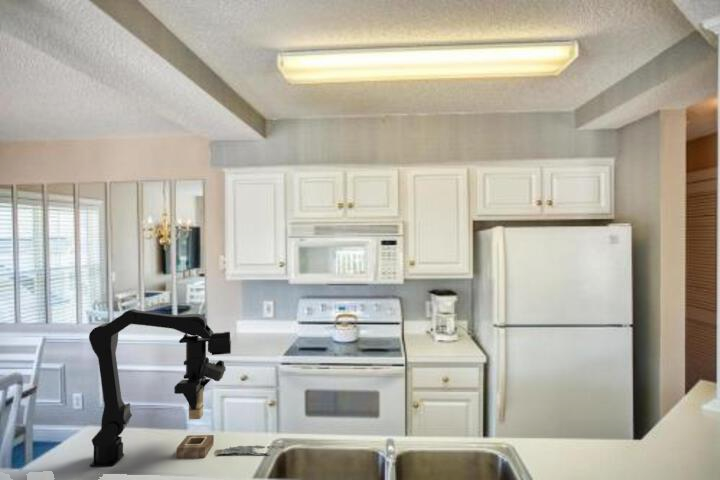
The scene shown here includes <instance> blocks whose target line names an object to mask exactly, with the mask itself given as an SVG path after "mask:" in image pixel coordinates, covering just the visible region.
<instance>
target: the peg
mask: <svg viewBox="0 0 720 480" xmlns="http://www.w3.org/2000/svg"><path fill="white" fill-rule="evenodd" d="M200 387H203V386H200ZM203 416H204V391H203V388H202V389H201V390H200V391H199V393H198V399H197V406H196V409H195V410H192V409H191V407H190V405H189V404H188V420H200V419H202V417H203Z"/></svg>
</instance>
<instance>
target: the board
mask: <svg viewBox="0 0 720 480" xmlns="http://www.w3.org/2000/svg"><path fill="white" fill-rule="evenodd" d="M214 436H215V435H214V434H203V435H202V434H198V435H196V434H195V435H193V434H192V435H189V434H188V435H186V436H185V438H184V439H182V441H181V442H180V444H179V445H178V446H177V447H176V459H195V458H198V459H201V458H200V457H205V458H206V457H207V455H208V454H209V452H210V451H211V449H212V447H213V446H214V441H215V440H214V439H215V438H214Z"/></svg>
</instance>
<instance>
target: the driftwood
mask: <svg viewBox="0 0 720 480" xmlns="http://www.w3.org/2000/svg"><path fill="white" fill-rule="evenodd" d="M285 445H286V444H285V443H283V445H279V446H276V445H272V446H271V445H270V446H269V445H267V447H266V446H264V445H246V446H245V445H238V446H233V447H231V446H230V447H229V448H224V449H223V448H221V449H215V454H214V455H215V456H216V457H218V455H223V454H225V455H229V454H234V453H237V455H238V456H240V455H241V454H251V455H255V456H256V455H257V456H261V455H262V456H263V455H267V456H269V457H270V456H272V455H271V453H268V452H265V453H264V452H256V451H255V449H265V448H266V449H269V450H272V449H275V450H278V449H279V450H280V449H285ZM277 454H278V453H276V455H277Z"/></svg>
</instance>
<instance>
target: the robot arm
mask: <svg viewBox="0 0 720 480" xmlns="http://www.w3.org/2000/svg"><path fill="white" fill-rule="evenodd" d="M130 325H139V326H146V327H148V326H149V327H155V328H163V329H164V328H166V329H172V330H176V331H178V332H179V333H183V334H184V335H183V337H181V338H180V339H179V340H178V343H179V344H185V360H184V361H183V366H185V373H184V374H183V379H181V380H180V381H179V382H178V383H177V384H176V385H174V390H173V391H174V394H176V395H177V394H181V395H183V396H184V398H185V399H186V401H187V404H188V406H189V405H190V407H191V409H192V410H195V409H196V406H197V399H198V393H199V391H200V390H201V389H202V388H203V392H204V390H205V387H206V385H208V383H209V382H210V381H211V380H213V381H215V382H220V381H221V380H222V379H223V377H224V373H225V371H227V370H226V369H227V368H226V366H225V361H223V360H218V361H217V362H216V363H215V362H213V363H212V362H210V359H209V357H208V356H207V352H208V353H209V354H211V356H217V355H231V353H232V340H231V331H224V332H214V331H213V330H212V329H211V328H210V327H209V325H208V322H207V318H206V317H205V316H204V315H203V314H201V313H189V314H188V313H185V314H169V313H160V312H153V311H145V310H137V309H135V308H131V309H128V310H126V311H124V312H123V313H122V314H121V315H119V316H117V317H116V318H115V319H113V320H111V321H110V322H106V323H102V324H100V325H98V326H96V327H94V328H93V329H92V330H91V331H90V332H89V335H88V339H89V343H90V345H91V349H92V351H93V352H94V354H95V356H96V357H97V359H98V369H99V375H100V383H101V390H102V396H103V397H102V398H103V404H104V407H103V411H102V415H101V416H102V417H101V423H100V424H101V425H100V427H101V428H100V429H99V431H98V432H97V433H96V434H95V435H94V437H93V438H92V439H91V443H92V446H93V461H92V462H91V463H90V464H89V467H112V466H114V465H116V464H117V463H118V461H120V460H121V459H122V458H123V457H124V456H125V453H124V442H123V441H122V436H120V435H121V434H122V433H123V431H124V430H125V429H126V427H127V426H128V424H129V423H130V420H131V418H132V416H133V414H132V413H131V403H130V402H127V403H126V404H125V402H124V401H123V399H122V392H121V386H120V379H119V377H120V376H119V371H118V370H119V369H118V364H117V363H118V362H117V355H116V354H117V353H116V352H117V349H118V348H117V347H118V342H119V333H120V332H121V331H123V330H124V329H125V328H128V326H130ZM200 386H203V387H200Z"/></svg>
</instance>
